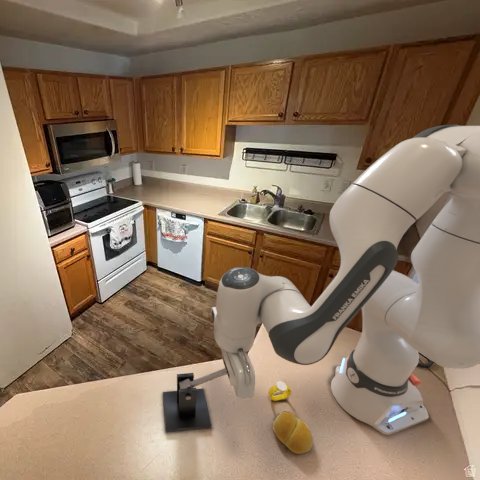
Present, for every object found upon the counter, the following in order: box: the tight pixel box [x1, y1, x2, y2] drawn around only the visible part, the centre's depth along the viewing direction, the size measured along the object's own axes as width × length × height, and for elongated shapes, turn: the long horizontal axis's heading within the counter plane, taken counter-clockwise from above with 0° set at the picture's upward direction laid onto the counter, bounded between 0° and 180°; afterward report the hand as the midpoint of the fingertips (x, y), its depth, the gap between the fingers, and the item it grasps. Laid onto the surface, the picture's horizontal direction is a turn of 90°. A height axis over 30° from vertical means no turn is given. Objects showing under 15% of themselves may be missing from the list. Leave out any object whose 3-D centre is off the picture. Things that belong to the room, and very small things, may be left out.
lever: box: [179, 360, 230, 389], centre depth 66 cm, size 14×5×2 cm, turn 93°
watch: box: [268, 380, 292, 402], centre depth 73 cm, size 6×3×6 cm, turn 97°
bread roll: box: [271, 411, 314, 454], centre depth 65 cm, size 8×9×4 cm
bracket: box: [162, 372, 212, 433], centre depth 69 cm, size 12×10×13 cm
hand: (229, 370), depth 65 cm, fingers closed on lever, 5 cm apart
